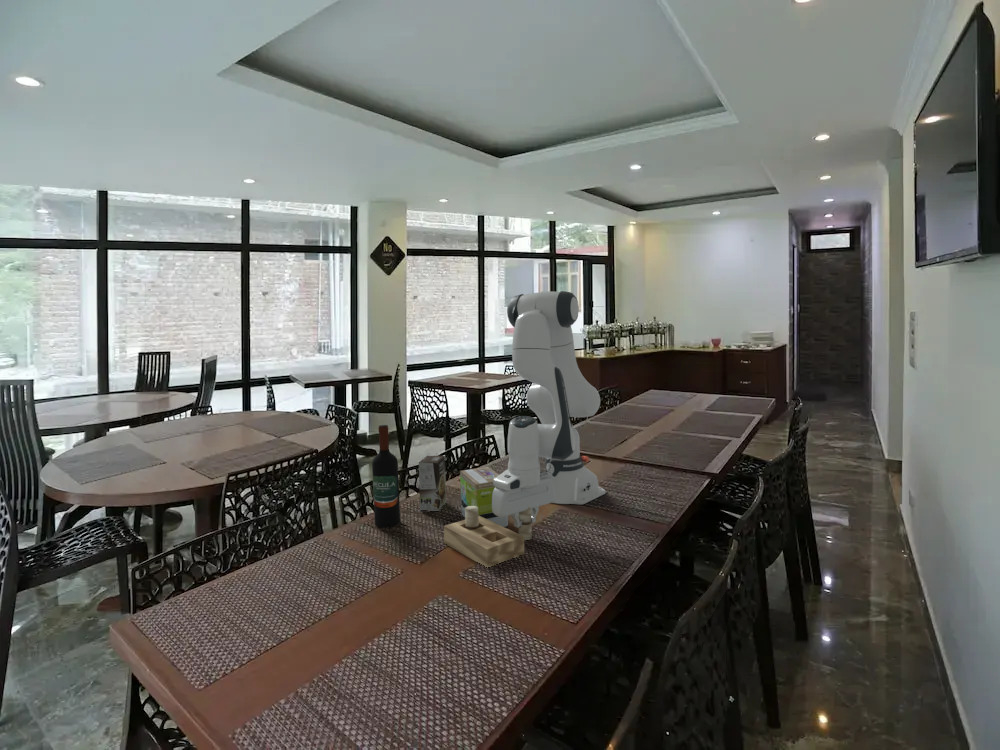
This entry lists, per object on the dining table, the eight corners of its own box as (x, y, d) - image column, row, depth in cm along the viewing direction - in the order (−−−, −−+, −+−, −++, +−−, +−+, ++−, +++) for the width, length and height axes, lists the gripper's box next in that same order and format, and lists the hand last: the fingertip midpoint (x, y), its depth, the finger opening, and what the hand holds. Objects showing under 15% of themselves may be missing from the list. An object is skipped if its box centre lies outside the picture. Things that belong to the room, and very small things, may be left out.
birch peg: (525, 535, 165) (525, 500, 164) (534, 538, 162) (533, 504, 161) (516, 538, 163) (515, 503, 162) (524, 542, 160) (523, 507, 159)
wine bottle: (404, 519, 179) (400, 423, 175) (392, 529, 172) (388, 429, 168) (383, 517, 181) (378, 422, 178) (370, 526, 174) (365, 427, 171)
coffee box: (438, 512, 185) (437, 462, 183) (419, 511, 186) (417, 462, 184) (447, 502, 194) (445, 455, 192) (428, 501, 195) (426, 454, 193)
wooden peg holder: (479, 532, 168) (478, 498, 167) (524, 554, 152) (523, 518, 151) (444, 543, 161) (443, 508, 160) (487, 568, 145) (486, 529, 144)
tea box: (460, 515, 182) (459, 469, 180) (490, 510, 185) (489, 465, 184) (477, 532, 168) (475, 483, 166) (509, 527, 172) (508, 478, 170)
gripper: (544, 466, 169) (545, 512, 171) (487, 480, 157) (489, 530, 159) (559, 471, 164) (559, 518, 166) (502, 486, 152) (503, 537, 154)
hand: (524, 524), depth 162 cm, fingers closed on birch peg, 4 cm apart
